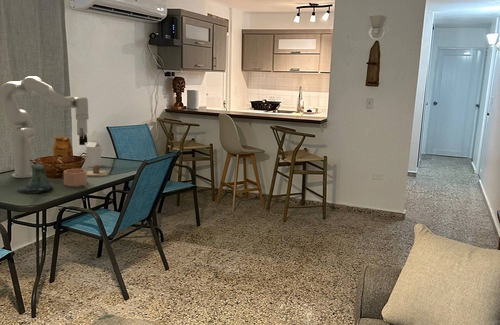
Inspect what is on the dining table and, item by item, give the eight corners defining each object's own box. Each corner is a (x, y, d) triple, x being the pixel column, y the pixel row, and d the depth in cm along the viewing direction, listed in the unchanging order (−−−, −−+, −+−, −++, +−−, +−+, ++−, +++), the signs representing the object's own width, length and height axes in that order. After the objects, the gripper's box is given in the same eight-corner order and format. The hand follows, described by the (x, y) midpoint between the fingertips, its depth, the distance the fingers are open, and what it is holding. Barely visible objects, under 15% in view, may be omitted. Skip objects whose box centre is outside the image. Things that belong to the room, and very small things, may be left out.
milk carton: (95, 167, 315) (94, 141, 312) (86, 166, 317) (85, 140, 314) (101, 165, 322) (100, 140, 318) (93, 164, 324) (92, 139, 320)
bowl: (63, 181, 274) (63, 169, 272) (85, 180, 279) (85, 168, 278) (64, 186, 262) (64, 173, 261) (87, 185, 268) (87, 172, 266)
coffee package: (66, 169, 305) (65, 138, 301) (52, 168, 309) (50, 137, 304) (76, 167, 314) (75, 136, 310) (62, 165, 318) (60, 135, 314)
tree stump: (43, 184, 268) (46, 157, 262) (58, 199, 256) (62, 171, 251) (11, 188, 254) (14, 159, 248) (26, 203, 242) (30, 174, 237)
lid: (83, 172, 298) (83, 163, 297) (106, 171, 304) (106, 162, 303) (85, 177, 285) (84, 168, 283) (109, 176, 291) (109, 167, 289)
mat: (82, 173, 298) (82, 172, 298) (107, 171, 305) (107, 171, 305) (84, 178, 284) (84, 177, 284) (110, 177, 291) (110, 176, 290)
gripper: (78, 115, 284) (79, 141, 288) (73, 118, 268) (74, 146, 271) (90, 115, 286) (91, 141, 289) (86, 118, 269) (87, 145, 273)
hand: (83, 143), depth 280 cm, fingers open, 9 cm apart
